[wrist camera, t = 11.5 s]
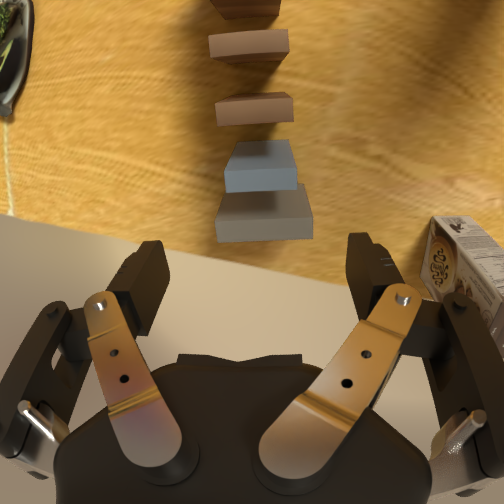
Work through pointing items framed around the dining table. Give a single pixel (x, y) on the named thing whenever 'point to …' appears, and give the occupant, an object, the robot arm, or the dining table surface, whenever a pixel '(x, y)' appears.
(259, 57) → the walnut domino
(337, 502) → the robot arm
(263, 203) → the block
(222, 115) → the walnut domino
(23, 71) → the salad plate
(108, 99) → the dining table surface
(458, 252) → the coffee box
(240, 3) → the walnut domino
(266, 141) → the slate domino
